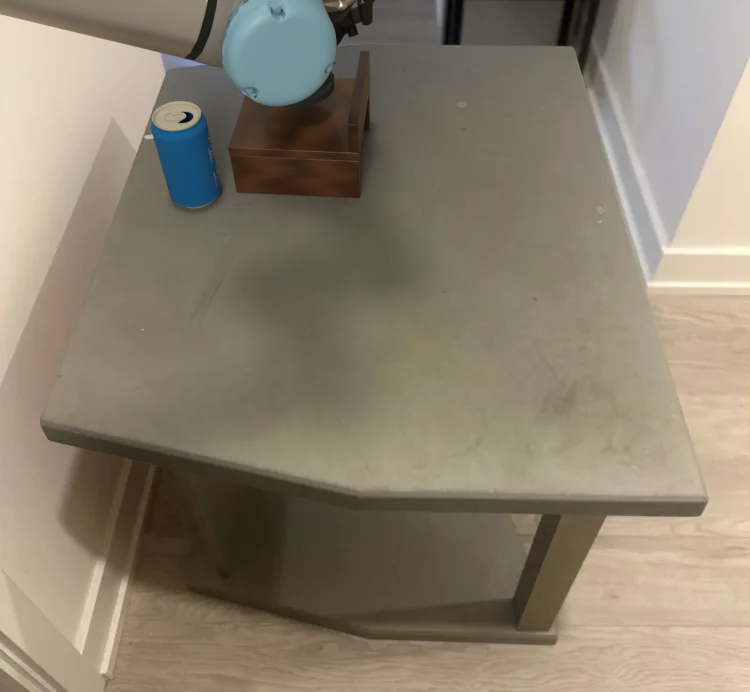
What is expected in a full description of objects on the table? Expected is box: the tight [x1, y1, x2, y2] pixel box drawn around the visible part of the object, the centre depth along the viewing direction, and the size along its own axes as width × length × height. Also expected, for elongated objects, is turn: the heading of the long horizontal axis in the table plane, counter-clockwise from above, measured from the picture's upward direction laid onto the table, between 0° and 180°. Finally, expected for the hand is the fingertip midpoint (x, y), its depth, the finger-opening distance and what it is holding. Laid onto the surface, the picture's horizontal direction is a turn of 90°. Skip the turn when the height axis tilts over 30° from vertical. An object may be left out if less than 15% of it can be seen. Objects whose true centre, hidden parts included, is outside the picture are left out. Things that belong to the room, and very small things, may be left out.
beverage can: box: [150, 100, 222, 209], centre depth 90 cm, size 6×6×12 cm
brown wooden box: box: [227, 50, 371, 199], centre depth 96 cm, size 16×16×11 cm
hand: (289, 48), depth 91 cm, fingers closed on mug, 10 cm apart
